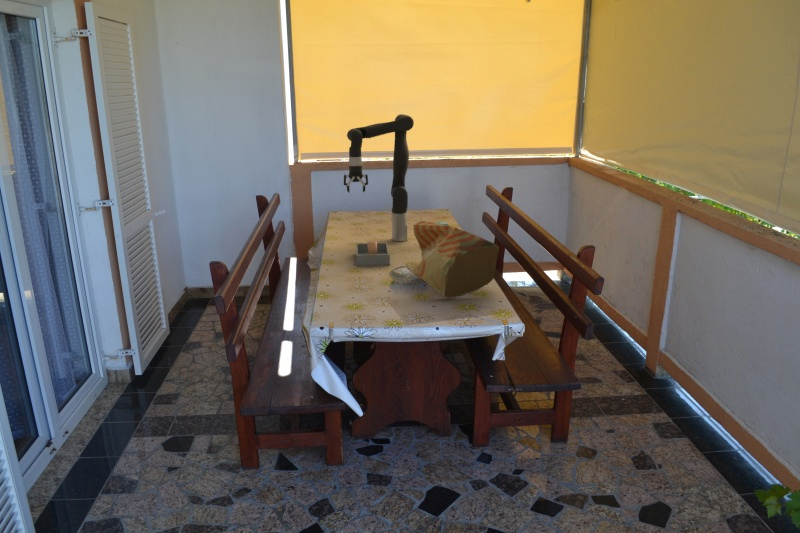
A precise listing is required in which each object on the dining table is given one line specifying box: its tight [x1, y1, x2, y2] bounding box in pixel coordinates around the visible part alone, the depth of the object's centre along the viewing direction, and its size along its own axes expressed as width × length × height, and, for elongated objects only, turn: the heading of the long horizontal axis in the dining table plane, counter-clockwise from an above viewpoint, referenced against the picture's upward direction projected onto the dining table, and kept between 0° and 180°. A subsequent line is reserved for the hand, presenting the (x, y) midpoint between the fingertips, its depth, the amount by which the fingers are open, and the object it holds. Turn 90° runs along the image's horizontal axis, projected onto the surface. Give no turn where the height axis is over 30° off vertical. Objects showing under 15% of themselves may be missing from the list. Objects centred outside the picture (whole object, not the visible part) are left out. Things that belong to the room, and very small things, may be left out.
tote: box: [355, 242, 391, 267], centre depth 354 cm, size 18×24×6 cm
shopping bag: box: [405, 220, 500, 299], centre depth 306 cm, size 36×32×40 cm
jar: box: [366, 240, 378, 255], centre depth 353 cm, size 5×5×9 cm
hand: (356, 192), depth 373 cm, fingers open, 8 cm apart
